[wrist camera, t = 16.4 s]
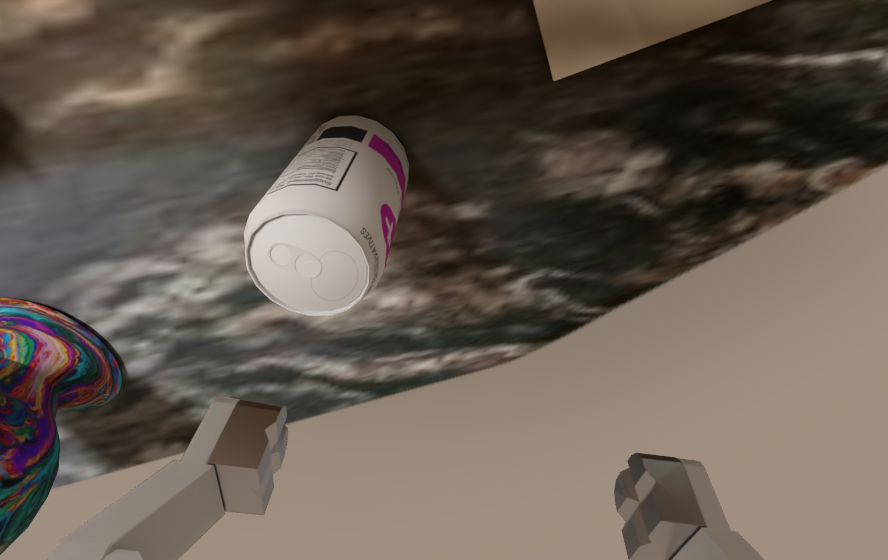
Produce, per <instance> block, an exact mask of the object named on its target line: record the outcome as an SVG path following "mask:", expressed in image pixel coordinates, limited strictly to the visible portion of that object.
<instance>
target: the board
mask: <svg viewBox="0 0 888 560" xmlns="http://www.w3.org/2000/svg"><path fill="white" fill-rule="evenodd" d="M769 1H772V0H533V3H534V7H535V11H536V15H537V19H538V23H539V27H540V31H541V35H542V39H543V43H544V47H545V51H546V55H547V59H548V63H549V67H550V71H551V75H552V79H553V81H556V80H559V79H562V78H564V77H567V76H570V75H572V74H575V73H578V72H580V71H583V70H586V69H589V68H591V67H594V66H597V65H599V64H602V63H605V62H607V61H610V60H613V59H615V58H618V57H621V56H624V55H626V54H629V53H632V52H634V51H637V50H640V49H642V48H645V47H648V46H650V45H653V44H656V43H659V42H661V41H664V40H667V39H669V38H672V37H675V36H677V35H680V34H683V33H685V32H688V31H691V30H693V29H696V28H699V27H702V26H704V25H707V24H710V23H712V22H715V21H718V20H720V19H723V18H726V17H728V16H731V15H734V14H737V13H739V12H742V11H745V10H747V9H750V8H753V7H755V6H758V5H761V4H763V3H766V2H769Z"/></svg>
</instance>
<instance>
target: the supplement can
mask: <svg viewBox="0 0 888 560" xmlns="http://www.w3.org/2000/svg"><path fill="white" fill-rule="evenodd" d="M408 175H409V163H408V160H407V156H406V153H405V150H404V147H403V146H402V145H401V143H400V142H399V140H398V139H397V138H396V136H395V135H394V134H393V132H391V131H390V130H388V129H387V128H386V127H384V126H383V125H381V124H380V123H379V122H377V121H374V120H371V119H368V118H365V117H361V116H339V117H337V118H335V119H332V120H330V121H328V122H326V123H323V124H322V125H321V126H320V128H319V129H318V130H317V131H316V132H315V133H314V134H313V135H312V136H311V137H310V139H309V140H308V141H307V143H306V144H305V145H304V146H303V148H302V149H301V150H300V151H299V153H298V154H297V155H296V156H295V158H294V159H293V160H292V161H291V163H290V164H289V165H288V166H287V168H286V169H285V170H284V172H283V173H282V174H281V175H280V177H279V178H278V179H277V180H276V182H275V183H274V184H273V185H272V187H271V188H270V189H269V190H268V192H267V193H266V194H265V196H264V197H263V198H262V199H261V201H260V202H259V203H258V204H257V206H256V207H255V208H254V209H253V211H252V212H251V213H250V215H249V218H248V221H247V225H246V228H245V231H244V240H245V247H246V248H245V258H246V265H247V270H248V272H249V274H250V275H251V277H252V279H253V281H254V283H255V284H256V286H257V287H258V288H259V289H260V290H261V291H262V292H263V293H264V294H265V295H266V296H267V297H268V298H269V299H270V300H271V301H273V302H275V303H277V304H279V305H280V306H282V307H284V308H286V309H288V310H290V311H293V312H297V313H301V314H305V315H308V316H331V315H334V314H337V313H340V312H343V311H346V310H348V309H350V308H351V307H352V306H353V305H355V304H356V303H357V302H359V301H360V300H362V299H363V298H364V297H365V296H367V295H368V294H369V293H370V292H372V291H373V290H374V289H375V288H376V286H377V284H378V282H379V280H380V278H381V276H382V274H383V272H384V269H385V265H386V261H387V258H388V254H389V250H390V247H391V243H392V239H393V236H394V232H395V228H396V225H397V221H398V217H399V214H400V210H401V206H402V202H403V199H404V195H405V191H406V188H407V184H408Z"/></svg>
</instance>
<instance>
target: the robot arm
mask: <svg viewBox="0 0 888 560" xmlns="http://www.w3.org/2000/svg"><path fill="white" fill-rule="evenodd" d="M286 416H287V414H286V407H285V406H278V405H271V404H265V403H258V402H252V401H245V400H240V399H232V398H225V397H217V398H216V399H215V400H214V401H213V402H212V403H211V405H210V407H209V409H208V410H207V412H206V414H205V416H204V418H203V420H202V422H201V424H200V425H199V427H198V429H197V431H196V433H195V435H194V437H193V439H192V440H191V442H190V444H189V446H188V448H187V450H186V452H185V454H184V455H183V457H182V460H181V461H177V460H173V461H172V462H170V463H169V464H168V465H166V466H165V467H163V468H162V469H161V470H159V471H158V472H156V473H155V474H153V475H152V476H151V477H149V478H148V479H146V480H145V481H144V482H142V483H141V484H139V485H138V486H137V487H135V488H134V489H132V490H131V491H130V492H128V493H127V494H125V495H124V496H122V497H121V498H120V499H118V500H117V501H115V502H114V503H112V504H111V505H110V506H108V507H107V508H105V509H104V510H103V511H101V512H100V513H98V514H97V515H95V516H94V517H93V518H91V519H90V520H88V521H87V522H85V523H84V524H83V525H81V526H80V527H79V528H77V529H76V530H74V531H73V532H71V533H70V534H68V535H67V536H66V537H64V538H63V539H61V540H60V542H59V544H58V545H57V546H56V548H55V550H54V551H53V553H52V554H51V556H50V557H49V559H48V560H178V559H179V558H180V557H181V556H182V555H183V554H184V553H185V552H186V551H187V550H188V549H189V548H190V547H191V546H192V545H193V544H194V543H195V542H197V541H198V539H200V538H201V537H202V536H203V534H205V533H206V532H207V531H208V530H209V529H210V528H211V527H212V526H213V525H214V524H215V523H216V522H217V521H218V520H219V519H220V518H221V517H222V516H223V515H224V514H225V511H226V512H237V513H247V514H258V515H264V514H265V511H266V508H267V505H268V502H269V499H270V496H271V494H272V491H273V488H274V483H273V474H274V473H275V472H277V471H278V470H279V469H280V468H281V464H282V462H283V458H284V455H285V450H286V446H287V440H288V429H287V427H286V426H285V425H284V422H285V419H286ZM628 464H629V468H628V469H625V470H623V471H622V472H620V474H619V476H618V478H617V479H616V484H615V490H614V495H615V503H616V508H617V512H618V513H619V514H620V515H621V517H622V518H623V519H624V520H625V521H626V523H625V525H624V527H623V529H622V534H623V538H624V542H625V546H626V550H627V555H628V559H629V560H764V559H763V558H762V557H761V556H760V555H759V553H758V552H757V551H756V550H755V549H754V548H753V547H752V546H751V545H750V544H749V543H748V542H747V541H746V540H745V539H744V538H742V536H741V535H740V534H739V533H738V532H734V531H731V530H730V527H729V525H728V522H727V520H726V518H725V515H724V513H723V510H722V508H721V506H720V503H719V501H718V499H717V496H716V494H715V491H714V489H713V487H712V484H711V482H710V479H709V477H708V474H707V472H706V470H705V467H704V466H703V465H702V463H701V462H698V461H695V460H686V459H677V458H675V457H667V456H658V455H650V454H641V453H635V454H633V455H631V457H630V458H629V460H628Z"/></svg>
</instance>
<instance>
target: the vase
mask: <svg viewBox="0 0 888 560" xmlns="http://www.w3.org/2000/svg"><path fill="white" fill-rule="evenodd" d="M121 382H122V378H121V372H120V369H119V366H118V364H117V362H116V360H115V358H114V357H113V355H112V354H111V352H110V351H109V350H108V349H107V347H106V346H105V345H104V344H103V343H102V342H101V341H100V340H99V339H98V338H97V337H96V336H95V335H93V334H92V333H91V332H90V331H89V330H87V329H86V328H84V327H83V326H82V325H80V324H79V323H77V322H76V321H74V320H72V319H70V318H69V317H67V316H65V315H63V314H61V313H59V312H57V311H54V310H52V309H50V308H47V307H44V306H42V305H38V304H35V303H31V302H27V301H23V300H17V299H9V298H0V555H1V554H2V553H3V552H4V551H5V550H6V548H8V546H10V545H11V544H12V543H13V542H14V541H15V540H16V539H17V538H18V537H19V536H20V535H21V534H22V533H23V532H24V531H25V530H26V529H27V528H28V526H29V525H30V523H31V522H32V520H33V519H34V517H35V516H36V514H37V513H38V511H39V509H40V508H41V506H42V505H43V503H44V502H45V500H46V498H47V497H48V495H49V492H50V490H51V487H52V485H53V482H54V480H55V477H56V475H57V472H58V467H59V453H60V439H59V435H58V430H57V426H56V421H55V417H56V411H57V410H67V411H78V410H85V409H90V408H95V407H99V406H102V405H105V404H107V403H108V402H110V401H111V400H113V399H114V398H115V397H116V396H117V394H118V393H119V391H120V388H121Z"/></svg>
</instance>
